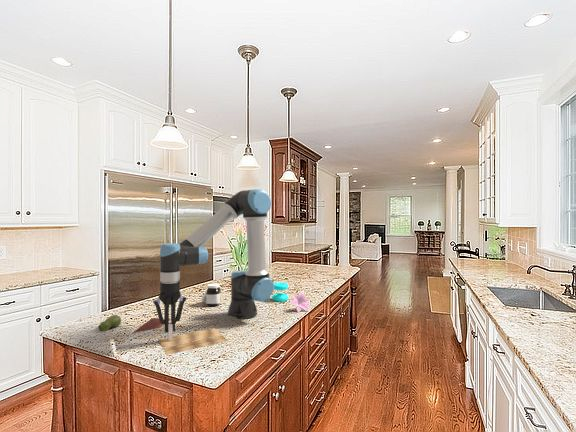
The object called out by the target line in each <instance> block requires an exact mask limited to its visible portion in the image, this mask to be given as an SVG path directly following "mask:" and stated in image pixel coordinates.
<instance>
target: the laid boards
mask: <svg viewBox="0 0 576 432" xmlns="http://www.w3.org/2000/svg"><path fill="white" fill-rule="evenodd" d="M228 341H229V339H227V338H226V337H225V336H223V334H221V335H219V336H215V337H210V338H205V339H201V340H196V341H191V342H187V343H182V344H178V345H173V346H168V347H164V348H163V347H162V349H163V350H164V352H165V353H166V355H168V356H169V355H172V354H176V353H177V354H178V353H180V352H182V353H183V352H185V351H190V350H195V349H198V348H203V347H206V346H207V347H208V346H212V345H216V344H217V345H218V344H220V343H221V344H222V343H224V342H226V343H227V342H228Z"/></svg>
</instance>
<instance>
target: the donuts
mask: <svg viewBox="0 0 576 432" xmlns="http://www.w3.org/2000/svg"><path fill="white" fill-rule="evenodd" d="M273 283H274V291H280V292H277V293H274V294H272V295H271V296H272V297H271V298H272V300H273V301H275V302H286V301H288V300H289V295H288V294H286V293H283V291H285V290H287V289H289V284H288V283H287V282H278V281H277V282H273ZM281 291H282V292H281Z"/></svg>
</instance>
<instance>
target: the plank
mask: <svg viewBox="0 0 576 432" xmlns="http://www.w3.org/2000/svg"><path fill="white" fill-rule="evenodd" d="M221 335H222V333H220V332H219V330H218V329H216V328H215V327H214V328H208V329H203V330H199V331H194V332H189V333H183V334H178V335H174V336H173V337H172V341H168V339H167V337H165V338H164V337H163V338H159V339H158V343H159V344H160V346H161V347H162V349H163V348H165V347H170V346H175V345H179V344H184V343H189V342H193V341H198V340H202V339H207V338H212V337H216V336H221Z"/></svg>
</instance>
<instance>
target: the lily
mask: <svg viewBox="0 0 576 432" xmlns="http://www.w3.org/2000/svg"><path fill="white" fill-rule="evenodd" d="M305 296H306V295H305V291H304V290H303V289H302V290H301V291H300V292H299V294H298V295H297V294H295V293H294V292H293V293H292V297H293V299H292V300H291V301H289V305H291V306H296V307H295V308H296V310H297V313H300V312H301V310H302V309H303V310H305V311H307V312H310V311H311V310H310V307H309V306H308V304H309V302H310V301H311V300H310V299H308V298H306V297H305Z"/></svg>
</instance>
